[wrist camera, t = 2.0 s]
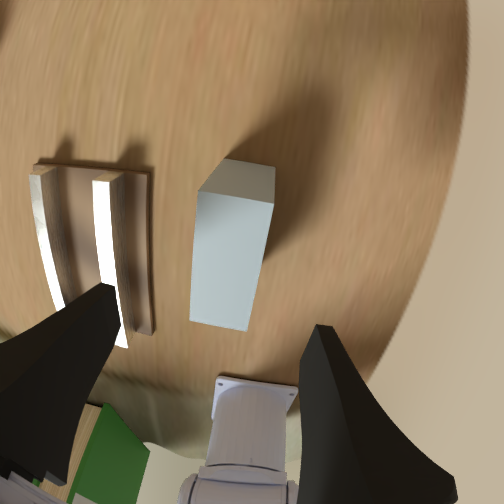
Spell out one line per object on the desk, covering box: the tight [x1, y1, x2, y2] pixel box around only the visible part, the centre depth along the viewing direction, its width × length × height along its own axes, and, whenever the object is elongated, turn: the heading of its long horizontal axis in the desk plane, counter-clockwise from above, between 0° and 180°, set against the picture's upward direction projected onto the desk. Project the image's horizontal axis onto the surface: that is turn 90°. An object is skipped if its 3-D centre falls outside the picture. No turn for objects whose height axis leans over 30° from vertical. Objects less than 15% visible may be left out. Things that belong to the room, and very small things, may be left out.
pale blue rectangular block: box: [190, 158, 275, 331], centre depth 16 cm, size 7×3×6 cm, turn 171°
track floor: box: [33, 163, 154, 336], centre depth 20 cm, size 14×10×1 cm
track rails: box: [29, 166, 136, 348], centre depth 19 cm, size 14×7×2 cm, turn 171°
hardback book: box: [32, 403, 150, 504], centre depth 28 cm, size 18×7×24 cm, turn 4°
